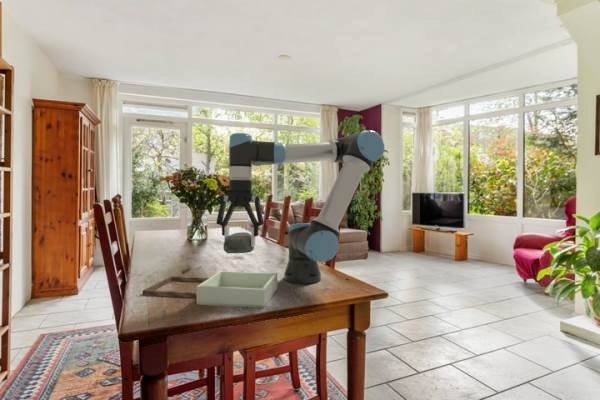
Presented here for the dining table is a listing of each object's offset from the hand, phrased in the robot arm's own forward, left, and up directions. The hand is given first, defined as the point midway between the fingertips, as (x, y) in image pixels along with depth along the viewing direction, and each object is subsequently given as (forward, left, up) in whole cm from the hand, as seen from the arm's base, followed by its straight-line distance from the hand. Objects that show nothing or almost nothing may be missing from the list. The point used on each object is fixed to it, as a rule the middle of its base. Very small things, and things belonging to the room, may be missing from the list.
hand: (239, 245), depth 118 cm
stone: (0, +1, -2) cm, 3 cm away
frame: (+22, -6, -18) cm, 29 cm away
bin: (0, 0, -18) cm, 18 cm away
